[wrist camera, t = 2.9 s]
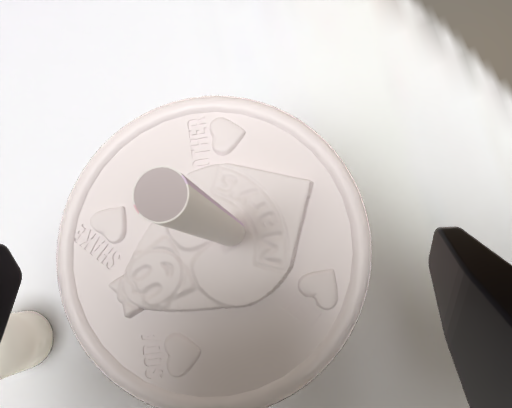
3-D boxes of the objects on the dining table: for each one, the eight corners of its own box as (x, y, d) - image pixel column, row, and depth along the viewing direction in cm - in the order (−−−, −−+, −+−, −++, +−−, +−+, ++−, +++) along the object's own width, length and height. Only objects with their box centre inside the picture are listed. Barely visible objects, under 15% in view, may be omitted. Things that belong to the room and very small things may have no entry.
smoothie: (364, 285, 17) (631, 355, 3) (229, 368, 17) (-48, 769, 3) (280, 155, 18) (227, -186, 5) (154, 233, 18) (-279, 129, 5)
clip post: (63, 346, 18) (26, 358, 16) (17, 380, 18) (-28, 398, 16) (35, 299, 18) (-5, 304, 16) (-10, 332, 18) (-58, 341, 16)
